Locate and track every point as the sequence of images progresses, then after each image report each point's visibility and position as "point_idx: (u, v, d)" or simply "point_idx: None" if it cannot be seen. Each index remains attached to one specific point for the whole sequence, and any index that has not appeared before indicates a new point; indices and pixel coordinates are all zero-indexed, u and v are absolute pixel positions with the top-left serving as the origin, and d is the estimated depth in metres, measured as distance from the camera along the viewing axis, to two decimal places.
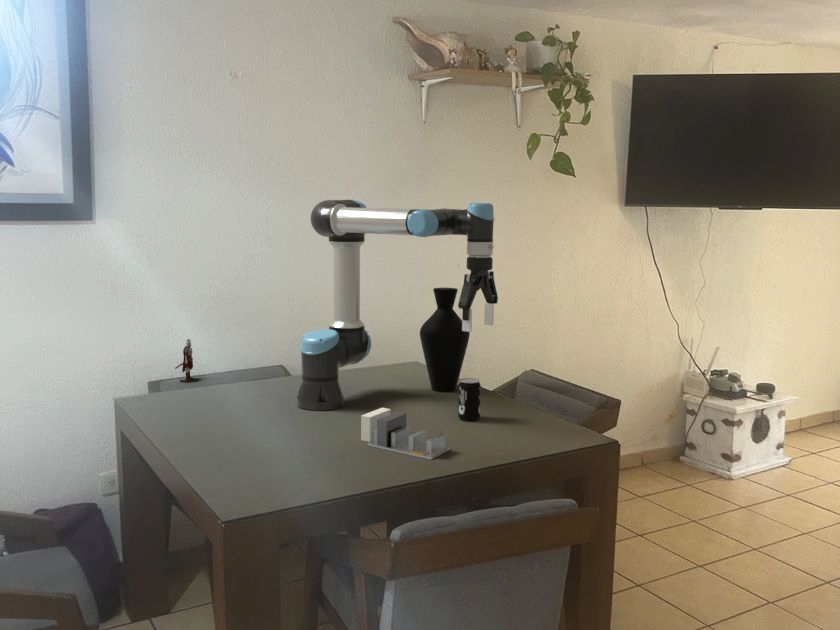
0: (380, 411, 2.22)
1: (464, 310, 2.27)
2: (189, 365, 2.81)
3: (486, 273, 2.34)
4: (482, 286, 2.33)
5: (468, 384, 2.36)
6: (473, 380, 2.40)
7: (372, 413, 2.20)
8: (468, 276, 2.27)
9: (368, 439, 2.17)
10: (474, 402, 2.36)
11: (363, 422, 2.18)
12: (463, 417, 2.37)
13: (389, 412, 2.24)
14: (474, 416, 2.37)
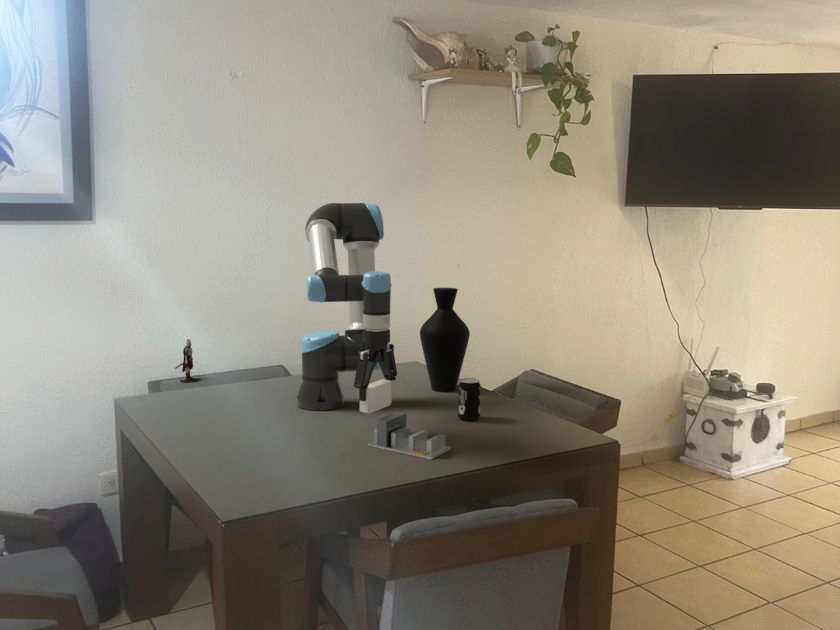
0: (380, 383, 2.21)
1: (361, 390, 2.15)
2: (189, 365, 2.81)
3: (384, 345, 2.20)
4: (379, 360, 2.19)
5: (468, 384, 2.36)
6: (473, 380, 2.40)
7: (372, 385, 2.19)
8: (362, 354, 2.13)
9: None
10: (474, 402, 2.36)
11: None
12: (463, 417, 2.37)
13: (389, 384, 2.23)
14: (474, 416, 2.37)
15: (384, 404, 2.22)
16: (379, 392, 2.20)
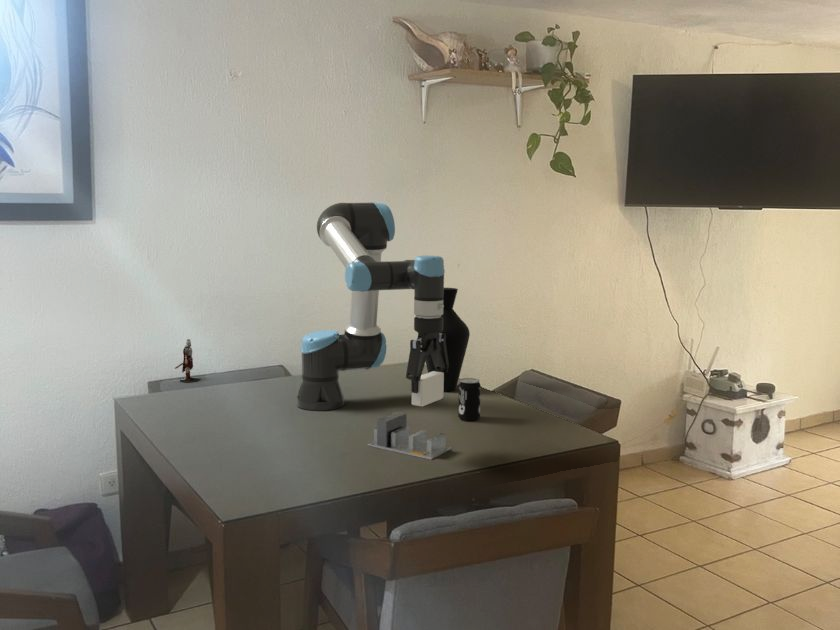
0: (432, 374, 2.07)
1: (413, 382, 2.01)
2: (189, 365, 2.81)
3: (437, 334, 2.07)
4: (432, 350, 2.05)
5: (468, 384, 2.36)
6: (473, 380, 2.40)
7: (424, 376, 2.05)
8: (414, 343, 1.99)
9: None
10: (474, 402, 2.36)
11: None
12: (463, 417, 2.37)
13: (441, 376, 2.10)
14: (474, 416, 2.37)
15: (436, 397, 2.08)
16: (432, 384, 2.06)
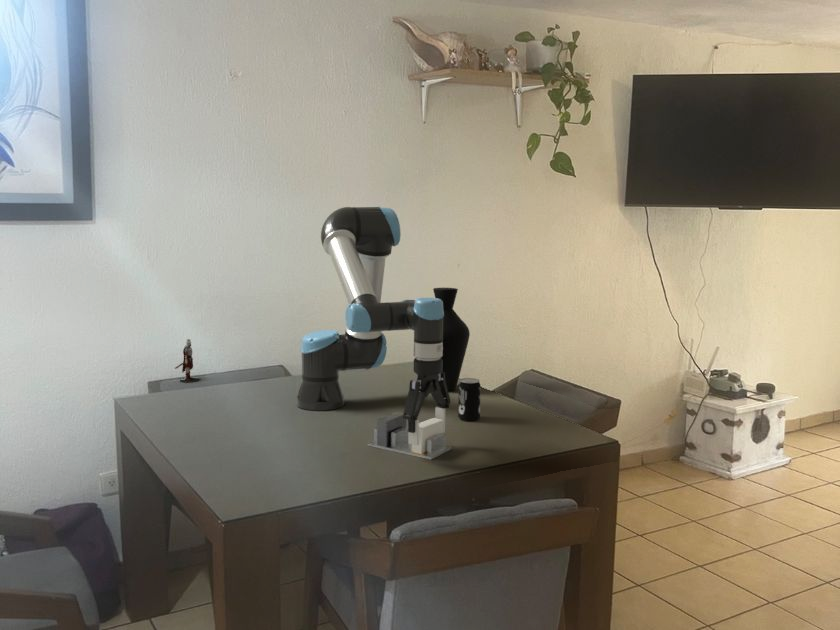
0: (432, 422, 2.09)
1: (410, 421, 2.02)
2: (189, 365, 2.81)
3: (436, 376, 2.08)
4: (431, 391, 2.07)
5: (468, 384, 2.36)
6: (473, 380, 2.40)
7: (424, 423, 2.08)
8: (414, 383, 2.01)
9: (419, 451, 2.05)
10: (474, 402, 2.36)
11: None
12: (463, 417, 2.37)
13: (441, 423, 2.12)
14: (474, 416, 2.37)
15: None
16: (432, 431, 2.08)
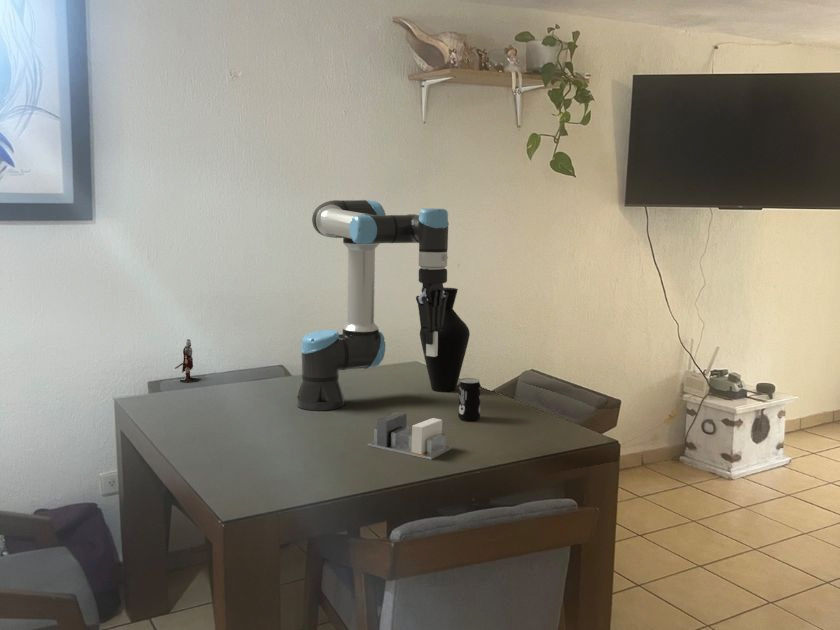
0: (431, 422, 2.10)
1: (428, 333, 2.10)
2: (189, 365, 2.81)
3: (442, 285, 2.12)
4: None
5: (468, 384, 2.36)
6: (473, 380, 2.40)
7: (423, 423, 2.08)
8: (420, 299, 2.05)
9: (419, 451, 2.05)
10: (474, 402, 2.36)
11: (414, 432, 2.05)
12: (463, 417, 2.37)
13: (440, 423, 2.12)
14: (474, 416, 2.37)
15: None
16: (431, 431, 2.08)
